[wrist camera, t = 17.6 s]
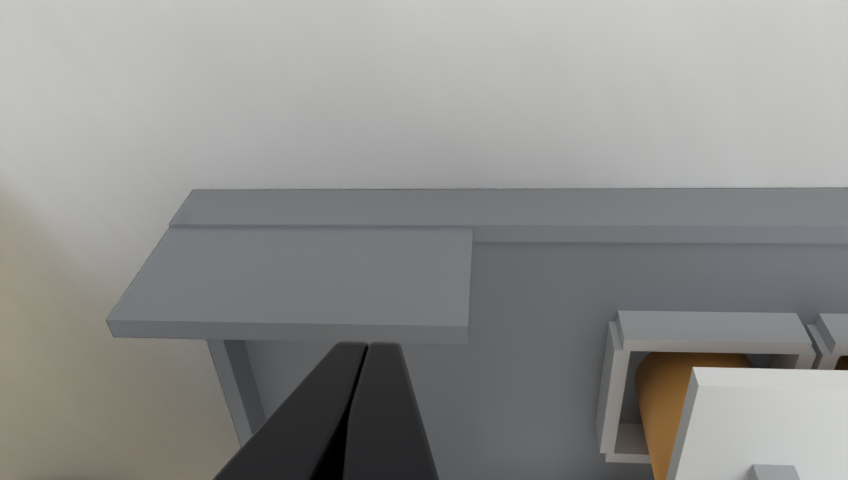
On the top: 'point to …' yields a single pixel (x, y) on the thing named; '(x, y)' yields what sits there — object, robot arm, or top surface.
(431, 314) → the housing
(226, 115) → the top surface
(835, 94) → the top surface
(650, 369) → the orange rounded cylinder
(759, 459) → the lid
